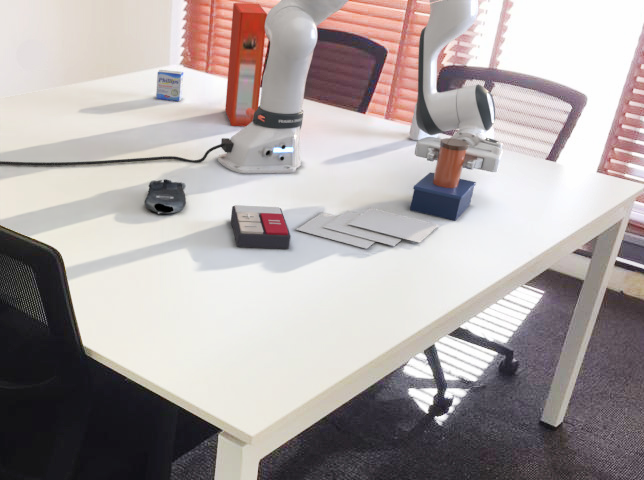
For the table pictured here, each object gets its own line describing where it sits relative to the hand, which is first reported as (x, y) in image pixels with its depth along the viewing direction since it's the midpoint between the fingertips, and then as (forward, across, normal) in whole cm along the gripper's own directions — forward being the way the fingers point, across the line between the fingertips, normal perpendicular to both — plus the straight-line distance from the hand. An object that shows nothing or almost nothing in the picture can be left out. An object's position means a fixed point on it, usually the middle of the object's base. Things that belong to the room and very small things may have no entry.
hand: (449, 161), depth 208 cm
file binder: (-40, -74, +12) cm, 86 cm away
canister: (0, 0, +6) cm, 6 cm away
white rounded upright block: (-60, -22, +12) cm, 65 cm away
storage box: (0, 0, +12) cm, 12 cm away
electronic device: (+40, -53, +12) cm, 68 cm away
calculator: (+44, -27, +12) cm, 53 cm away
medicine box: (-46, -103, +12) cm, 114 cm away
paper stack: (+25, -9, +12) cm, 29 cm away
